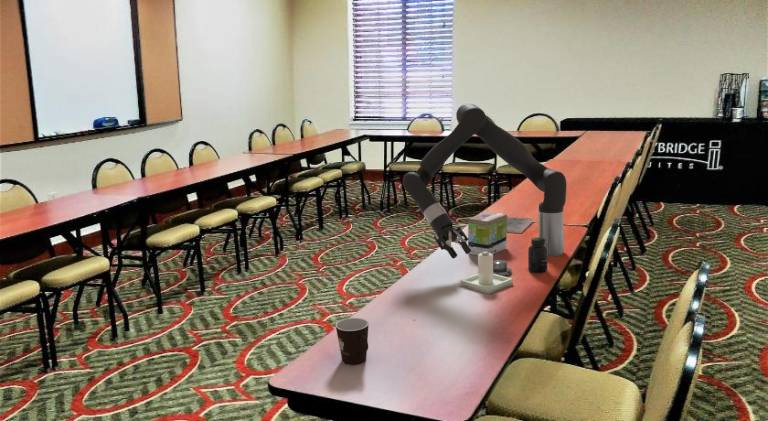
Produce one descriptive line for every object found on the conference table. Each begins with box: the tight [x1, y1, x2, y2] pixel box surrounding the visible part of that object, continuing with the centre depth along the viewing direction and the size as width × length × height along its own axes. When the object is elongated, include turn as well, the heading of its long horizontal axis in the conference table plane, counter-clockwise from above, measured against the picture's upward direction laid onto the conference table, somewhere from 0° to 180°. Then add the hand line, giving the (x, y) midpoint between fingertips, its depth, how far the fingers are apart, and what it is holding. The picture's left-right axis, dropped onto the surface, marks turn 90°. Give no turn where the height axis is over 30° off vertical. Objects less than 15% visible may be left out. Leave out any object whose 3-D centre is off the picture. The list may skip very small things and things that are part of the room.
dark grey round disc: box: [493, 259, 513, 277], centre depth 235 cm, size 9×9×4 cm
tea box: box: [467, 211, 508, 256], centre depth 261 cm, size 15×10×15 cm
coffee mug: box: [335, 317, 369, 366], centre depth 169 cm, size 12×9×10 cm
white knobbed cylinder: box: [477, 252, 494, 285], centre depth 222 cm, size 5×5×11 cm
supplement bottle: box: [527, 236, 549, 274], centre depth 235 cm, size 7×7×12 cm
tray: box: [459, 273, 514, 295], centre depth 223 cm, size 13×13×2 cm
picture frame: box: [507, 216, 534, 234], centre depth 301 cm, size 16×2×22 cm
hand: (462, 255), depth 231 cm, fingers open, 8 cm apart
